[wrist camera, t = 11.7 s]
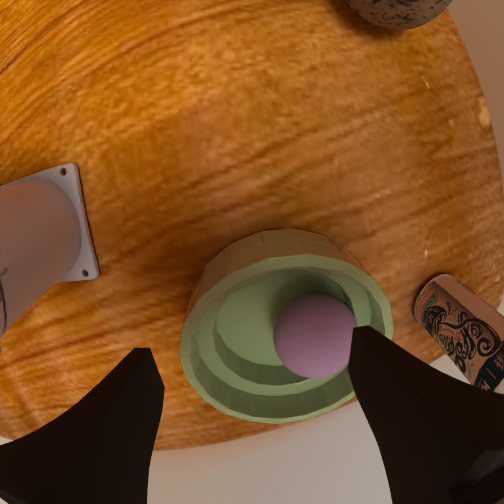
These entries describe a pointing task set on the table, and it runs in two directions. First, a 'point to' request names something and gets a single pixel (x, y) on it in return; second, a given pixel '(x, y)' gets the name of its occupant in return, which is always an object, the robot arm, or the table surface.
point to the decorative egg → (398, 12)
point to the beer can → (464, 330)
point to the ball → (314, 335)
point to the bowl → (270, 324)
